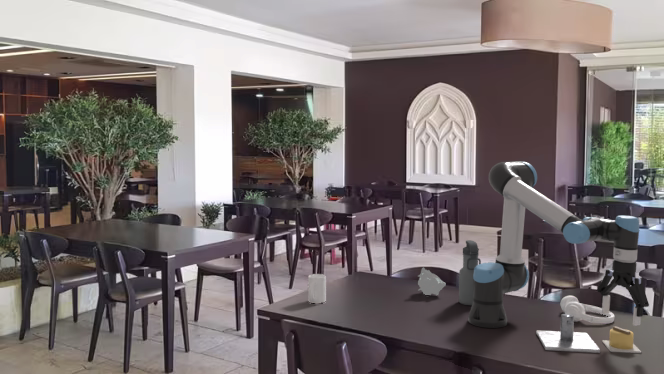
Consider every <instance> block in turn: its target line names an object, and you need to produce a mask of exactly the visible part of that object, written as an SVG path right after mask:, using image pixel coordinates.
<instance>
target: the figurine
mask: <svg viewBox="0 0 664 374" xmlns="http://www.w3.org/2000/svg"><path fill="white" fill-rule="evenodd" d="M417 277H419V278H418V281H417V286H419V289H418V290H417V291H421V292H422V293H423V295H424V294H425V295H430V296H431V295H432V294H433V295H435V296H437V295H438V296H439V293H440V291H441V290H443V288H444V287H446V282H444V281H443V280H442V279H441V278H440V277H439V276H438V275H436V274H435V273H432V272H431V271H430V270H429V269H428V270H427V269H426V268H425V267H421V270H420V274H418V275H417ZM425 295H424V296H425Z"/></svg>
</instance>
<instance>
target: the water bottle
mask: <svg viewBox="0 0 664 374" xmlns="http://www.w3.org/2000/svg"><path fill="white" fill-rule="evenodd" d="M465 244H466V246H464V247H463V248H462V255H463V256H462V268H460V270H459V271H458V273H459V276H458V280H459V281H458V302H459V303H460V304H461V305H464V306H470V307H472V304H473V274H474V268H475V267H476V266H477V265H479V264H482V260H481V259H480V258H479V255H480V254H479V251H480V250H479V246H478V243H477V242H476V241H475V240H468V239H467V240H465Z"/></svg>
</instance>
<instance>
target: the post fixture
mask: <svg viewBox="0 0 664 374" xmlns="http://www.w3.org/2000/svg"><path fill="white" fill-rule="evenodd" d="M574 322H575V321H574V316H573V315H570V314H565V313H562V314H560V331H559V330H558V331H555V330H536V331H535V332H536V333H535V334H536V335H537V338H538V339H539V341H540V342H541V345H542V346H543V348H544V350H545V351H557V352H558V351H559V352H560V351H561V352H577V353H578V352H579V353H594V354H595V353H596V354H598V353H601V349H600V347H599V346H598V345H597V343H595V341H594V340H593V339H592V338H591V336H590V335H589V334H588V333H587V332H579V331H578V332H577V331H576V332H575V331H574V327H575V325H574V324H575V323H574Z"/></svg>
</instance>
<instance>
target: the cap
mask: <svg viewBox="0 0 664 374" xmlns="http://www.w3.org/2000/svg"><path fill="white" fill-rule="evenodd" d="M608 337H609V340H608V341H609V345H610V346H612V347H614V348H618V349H632V348H633V344H634V332H633V331H631V330H629V329H625V328H621V327H619V326H617V325H616V326H612V328H610V330H609V336H608Z"/></svg>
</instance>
